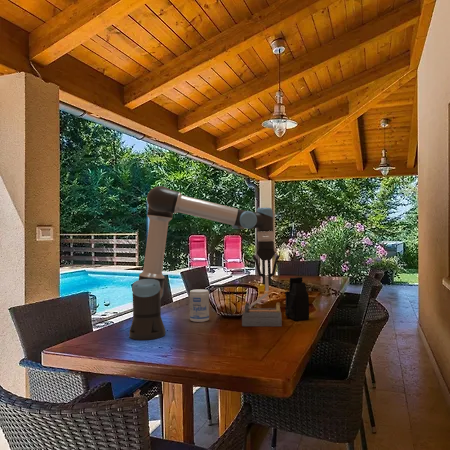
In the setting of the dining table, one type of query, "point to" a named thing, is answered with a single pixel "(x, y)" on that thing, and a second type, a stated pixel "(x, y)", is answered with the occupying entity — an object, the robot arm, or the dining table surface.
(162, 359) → the dining table surface
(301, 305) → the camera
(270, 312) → the heatsink block
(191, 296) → the supplement tub
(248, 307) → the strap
